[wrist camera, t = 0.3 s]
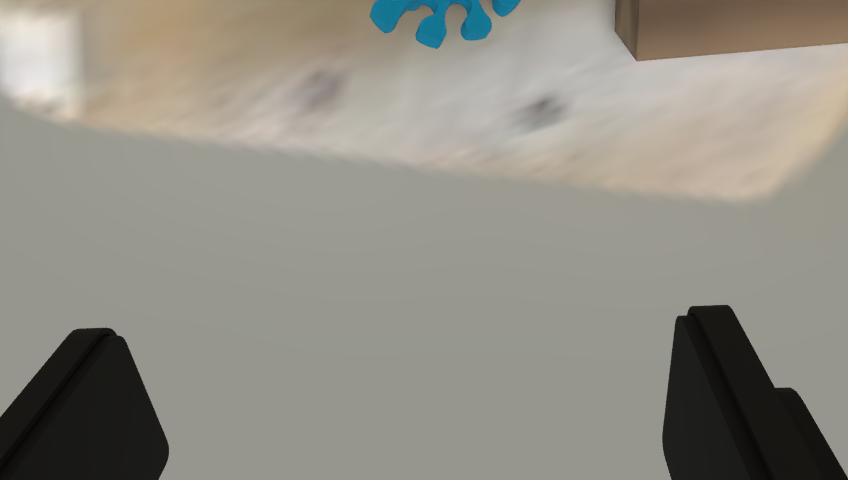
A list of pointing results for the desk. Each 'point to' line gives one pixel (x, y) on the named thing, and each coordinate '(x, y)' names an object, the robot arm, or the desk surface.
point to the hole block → (727, 26)
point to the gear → (439, 18)
